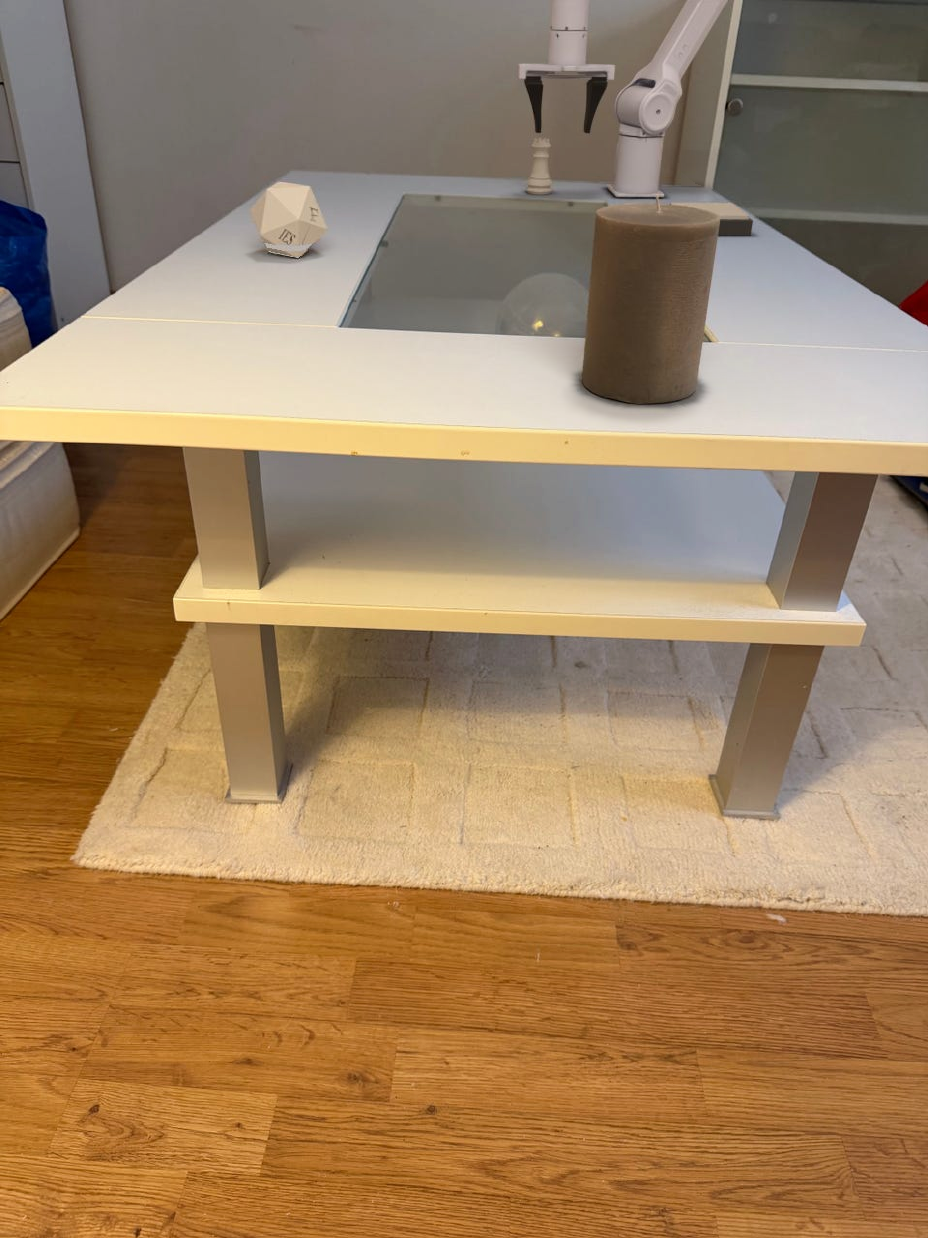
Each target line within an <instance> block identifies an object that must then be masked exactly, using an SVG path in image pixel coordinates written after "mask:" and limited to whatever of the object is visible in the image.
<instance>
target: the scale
mask: <svg viewBox="0 0 928 1238" xmlns="http://www.w3.org/2000/svg"><path fill="white" fill-rule="evenodd" d="M669 205H680V206H688V207H694V208H698V209H702V210H709V211H713V212H714V213H717V214H718V215H719V216H720V225H719V232H718V237H721V236H723V237H727V236H728V237H732V236H733V237H734V236H735V237H740V236H741V237H745V236H746V237H749V236H752V230H753V223H754V220H753V219H752V218H751V217H750V214H748V213H747V212H745V211H744V210H743V209H741V208H740V207H738V206H737V205H735V203H732V202H670V203H669Z"/></svg>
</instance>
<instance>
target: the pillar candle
mask: <svg viewBox="0 0 928 1238" xmlns="http://www.w3.org/2000/svg"><path fill="white" fill-rule="evenodd" d="M659 198H660V197H658V195H656V197H655V201H656V203H651V202H648V203H647V202H628V203H620V204H613V205H612V204H611V205H607V206H603V207H601V208H598V209H597V210H596V212H595V219H594V230H593V241H592V256H591V265H590V275H589V289H588V299H587V310H586V323H585V335H584V347H583V359H582V360H583V361H582V369H581V370H582V371H581V377H582V382H583V385H584V387H585V388H586V389H587V390H588V391H590V392H591V393H593V394H596V395H598V396H600V397H603V398H606V399H607V398H609V399H611V400H617V401H620V402H624V403H630V404H634V405H645V404H646V405H647V404H664V403H671V402H675V401H679V400H684V399H686V398H689V397H690V396H692V395H693V394H694V393H695V391H696V389H697V385H698V377H699V370H700V363H701V356H702V350H703V343H704V336H705V328H706V320H707V315H708V314H707V313H708V307H709V301H710V294H711V287H712V280H713V273H714V266H715V259H716V253H717V244H718V239H719V236H718V232H719V225H720V216H719V215H718V214H717V213H714V212H713V211H709V210H702V209H698V208H694V207H688V206H680V205H670V204H666V203H660V199H659Z"/></svg>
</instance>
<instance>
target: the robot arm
mask: <svg viewBox="0 0 928 1238" xmlns="http://www.w3.org/2000/svg"><path fill="white" fill-rule="evenodd" d="M728 1H729V0H686V1H685V2H684V4H683V7H681V10H680V11H679V13H678V15H677V17H676V18H675V20H674V22H673V24H672V25H671V27H670V28H669V31H668V32H667V34H666V36H665V37H664V39H663V41H662V43H660V46H659V48H658V49H657V51H656V53H655V55H654V56H653V58H652V60H651V61H650V62H649V63H648V64H647V65H645V66H644V67H643V68H641V69H640V70H639V71H638V72H637V73H636V74H635V75H634V77H633V79H632V80H631V81H630V83H629V84H628V85H626V86H625V87H622V89H621V90H620V91H619V93H618V94H617V96H616V98H615V100H614V105H613V110H614V111H613V112H614V113H613V114H614V116H615V120H616V121H617V123H618V124H619V130H618V131H619V132H618V133H619V134H618V140H617V141H618V142H617V145H616V147H615V157H614V168H613V179H612V184H609V183H608V184H606V188H607V189H608V190H609V191H610V192H611V193H612V194H613V195H614V197H616V198H656V195H658V198H665V193H664V192H663V191H661V190H660V189H659V187H660V178H661V177H660V176H661V168H662V160H663V159H662V158H663V150H664V141H665V136H666V130H667V129H669V127H670V125H671V124H672V123H673V121H674V118H675V114H676V108H677V105H678V102H679V100H680V98H681V97H682V95H683V89H682V82H681V80H682V78H683V76H684V75H685V73H686V72H687V70H688V68H689V67H690V65H691V63H692V61H694V59H695V56H696V55H697V53H698V52H699V50H700V48H701V47H702V44H703V43H704V41H705V40H706V38H707V36H708V35H709V34H710V31H711V30H712V28H713V26H714V25H715V23H716V21H717V20H718V18H719V16H720V15H721V13H722V11H723V10H724V8H725V6H726V5H727V3H728ZM590 4H591V0H550V9H549V10H550V11H549V12H550V13H549V30H548V31H549V32H548V51H547V62H546V63H518V64H517V79H519V80H523V83H524V87H525V89H526V92H527V95H528V98H529V102H530V105H531V110H532V115H533V121H534V132H535V133H536V134H541V133H542V126H543V125H542V122H543V121H542V109H543V108H542V107H543V106H542V105H543V93H544V84H543V80H587V82H586V83H585V85H586V87H585V89H586V93H585V95H586V96H585V98H586V99H585V112H584V119H583V133H584V134H591V130H592V126H593V121H594V119H595V118H594V117H595V115H596V112H597V109H598V107H599V104H600V102H601V100H602V98H603V95H604V94H605V93H606V90H607V87H608V86H609V85H608V83H609V82H608V81H614V80H615V72H616V65H615V64H605V63H604V64H601V63H600V64H599V63H597V64H596V63H586V62H587V47H588V34H589V22H590V21H589V20H590V19H589V18H590V6H591V5H590ZM555 73H577V74H555Z"/></svg>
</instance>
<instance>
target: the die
mask: <svg viewBox="0 0 928 1238" xmlns="http://www.w3.org/2000/svg"><path fill="white" fill-rule="evenodd" d="M249 214H250V215H251V218H252V220H253V223H254V225H255V228H256V230H257V232H258V234H259V237H260V239H261V240H263V241H262V243H263V242H264V243H268V244H273V245H286V246H287V245H289V246H300V245H301V244H302V245H307V244H312V243H314V244H316V243H317V242H318V241H319V240H320V238H322V237H323V235H324V234H326V233H327V231H328V230H329V228H328V226H327V223H326V221H325V219H324V216H323V214H322V212H321V209H320V207H319V204H318V202H317V200H316V197H315V195H314V193H313V190H312V188H311V186H310V185H305V184H299V183H292V182H285V181H277V182H276V183H274V184H272V185H271V186H269V187H267V188H266V189H265V191H263V193H262V194H261V196H260V197H259V198H258V199H257V201H255V203H254V204H253V205H252V207H251V208H250V209H249ZM264 243H263V244H264ZM265 250H266V252H267V251H271V252H275V253H280V254H284V255H289V256H293V257H300V256H301V257H302V256H303V255H304V254H305V253H307V252H308V251H309V250H308V249H307V250H302V251H282V250H277V249H272V248H267V247H265ZM301 257H300V258H301Z"/></svg>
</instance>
